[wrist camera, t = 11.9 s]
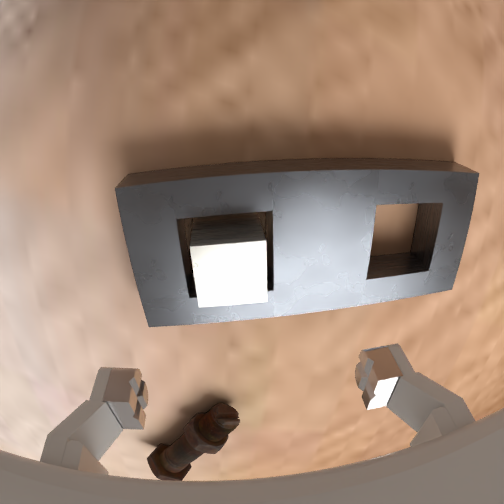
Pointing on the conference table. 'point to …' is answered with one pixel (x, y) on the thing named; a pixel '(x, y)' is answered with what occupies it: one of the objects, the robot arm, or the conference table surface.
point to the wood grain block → (229, 259)
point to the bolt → (194, 442)
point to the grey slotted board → (298, 232)
